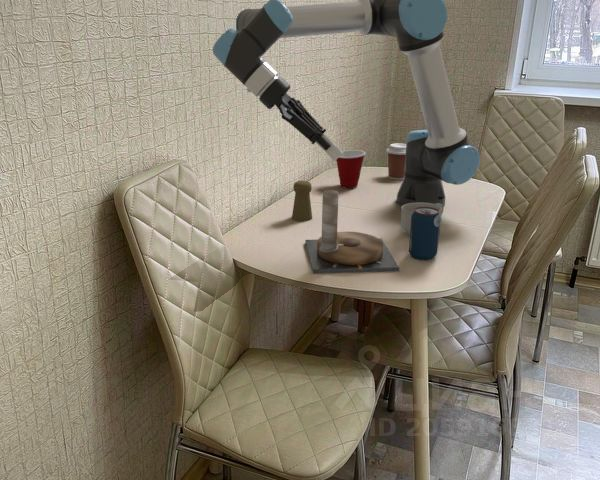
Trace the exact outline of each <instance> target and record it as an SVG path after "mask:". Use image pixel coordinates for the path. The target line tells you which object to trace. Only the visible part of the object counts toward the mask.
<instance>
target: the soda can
mask: <svg viewBox="0 0 600 480" xmlns="http://www.w3.org/2000/svg"><path fill="white" fill-rule="evenodd" d="M440 220H441V221H442V217H441V218H440V215H439V211H438V210H437V209H435V208H431V207H417V208H415V210H414V213H413V214H412V216H411V227H410V236H409V240H408V249H407V250H408V254H409V255H410V258H412V259H413V260H416V261H419V262H428V261H429V260H430V261H432V260H434V258H435V257H436V256H437V254H438V249H439V240H440V239H439V237H440V229H441V226H440Z"/></svg>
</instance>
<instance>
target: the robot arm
mask: <svg viewBox="0 0 600 480" xmlns="http://www.w3.org/2000/svg"><path fill="white" fill-rule="evenodd" d="M238 13H239V12H238ZM238 13H237V14H238ZM236 16H237V15H236ZM447 21H448V8H447V5H446V3H445V1H444V0H356V1H346V2H345V1H344V2H333V3H332V2H331V3H319V4H305V5H291V6H286V5H285V4H284V3H283V2H282V1H280V0H268V1H267V2H266V3H264V4H263V6H262V7H261V8H246V9H243V10H241V11H240V13H239V14H238V16H237V18H236V31H235V29H234V28H229V29H227V30H226V31H225V32H224V33H222V34H221V35H220V36H219V38H217V40H216V41H215V43H214V44H213V47H212V54H213V56H215V57H216V59H217V60H218V61H219V62H220V63H221V64H222V65H223V66H224V67H225V69H226V70H228V72H230V73H231V74H232V75H233V76H234V77H235V78H236V79H237V80H238V81H239V82H240V83H242V84H243V86H245V87H246V88H247V89H246V91H247V92H248V93H252V94H253V95H254V96H255V97H259V98H258V99H259V101H260V103H261V104H263V105H264V106H265V107H266V108H267V109H268V110H272V108H273V107H277V109H278V111H279V113H280V116H281V117H280V118H282V119H283V120H284V121H286V122H287V123H288V124H290V125H291V126H292V127H293V128H295V130H297V131H298V132H299V133H301V135H303V136H304V137H305V138H306V139H308V141H310V143H311V144H312V145H314V144H315V143H316V144H317V146H319V147H320V148H321V149H322V150H323V151H324V152H325V153H326V154H327V155H328V156H329V157H330V158H331V159H332V160H333V161H334V162H335V161H336V160H337V159H338V158H339V157H340V156H341V155H342V154H343V151H344V150H342V149H341V148H340V147H339V146H338V145H337V144H336V143H335V142H334V141H333V140H332V139H331V138H330V137H329V136H328V135H327V134H326V133H325V132H326V131H327V129H326V128H324V127H323V126H321V125H320V123H319V122H318V121H317V120H316V119H315V118H314V117H313V116H312V114H311V113H310V112H309V111H308V110H307V109H306V108H305V106H304V105H303V103H302V102H301V101H300V100H299V99H296V98H295V97H291V96H290V95H289V94H288V92H289V91H290V89H291V85H290V84H289V83H288V82H287V81H286V80H285V79H284V78H283V77H282V76H279V75H278V74H279V73H278V71H276V70H275V68H274V67H272V66H271V65H270V64H269V63H268V62H267V61H266V60H265V59H264V58H263V57H262V56H264V55H265V53H266V52H267V51H269V49H270V48H271V47H272V46H273V45H274V44H276V42H277V41H278V40H279V39H287V38H288V39H289V38H297V37H299V38H300V37H309V36H322V35H334V34H345V33H356V32H359V33H360V34H361V35H364V36H366V35H381V36H386V37H387V36H388V37H393V38H394V37H395V39H396V41H397V45H398V48H399V52H401V53H403V54H404V55H406V56H407V60H408V62H409V63H408V64H409V67H410V70H411V74H412V79H413V82H414V85H415V89H416V92H417V97H418V100H419V105H420V109H421V111H422V116H423V120H424V123H425V127H426V129H417V130H411V131H409V132H408V134H407V137H406V141H405V144H406V157H405V172H404V179H403V180H401V181H402V182H401V184H400V187H399V189H398V191H397V194H396V203H397V204H398V205H400V206H401V207H402V206H403V205H405V204H408V203H416V202H424V203H432V204H436V203H440V204H442V205H443V207H445V205H446V193H445V190H444V185H443V182H444V183H446V184H451V185H455V186H456V185H457V186H458V185H462V184H463V185H464V184H465V183H467V182H469V181H470V180H471V179H472V178H473V177H474V176H475V175H476V172H477V171H478V169H479V166H480V163H481V156H480V153H479V151H478V150H477V148H476V147H474V146H472V145H470V143H469V139H468V135H467V132H466V130H465V129H464V128H461V127H460V125H459V122H458V116H457V113H456V108H455V105H454V100H453V96H452V95H453V94H452V92H451V87H450V83H449V78H448V75H447V70H446V65H445V62H444V57H443V53H442V50H441V48H442V47H441V43H442V41H443V40H444V38H445V35H444V29H445V27H446V25H445V24H446V23H447Z"/></svg>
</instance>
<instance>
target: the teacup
mask: <svg viewBox="0 0 600 480" xmlns="http://www.w3.org/2000/svg"><path fill="white" fill-rule="evenodd" d="M417 207H431V208H435V209H437V210H438V211H439V215H440V218H441V220H440V227H441V223H442V216H443V212H444V206H443V205H442V204H440V203H436V204H432V203H424V202H416V203H408V204H405V205H403V206H402V205H401V207H400V210H401V213H400V214H401V215H400V216H401V218H400V220H401V222H400V223H401V228H402V230H403V232H405V234H407V235H408V236H409V237H410V227H411V216H412V214H413V213H414V210H415V208H417Z"/></svg>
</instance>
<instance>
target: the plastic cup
mask: <svg viewBox="0 0 600 480" xmlns="http://www.w3.org/2000/svg"><path fill="white" fill-rule="evenodd" d="M342 151H343V154H342V155H341V156H340V157H339V158H338V159H337V160H336V165H337V166H336V167H337V172H338V178H339V179H338V180H339V186H340V188H343V189H355V188H358V186H359V180H360V176H361V173H362V167H363V162H364V158H365V155H366V152H365V151H363V150H360V149H359V150H357V149H347V150H342Z"/></svg>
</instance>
